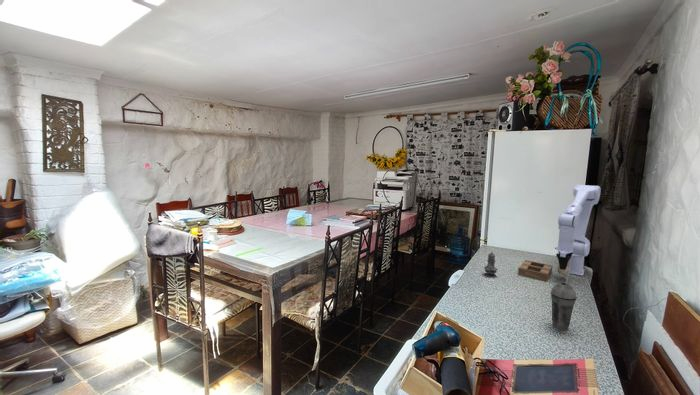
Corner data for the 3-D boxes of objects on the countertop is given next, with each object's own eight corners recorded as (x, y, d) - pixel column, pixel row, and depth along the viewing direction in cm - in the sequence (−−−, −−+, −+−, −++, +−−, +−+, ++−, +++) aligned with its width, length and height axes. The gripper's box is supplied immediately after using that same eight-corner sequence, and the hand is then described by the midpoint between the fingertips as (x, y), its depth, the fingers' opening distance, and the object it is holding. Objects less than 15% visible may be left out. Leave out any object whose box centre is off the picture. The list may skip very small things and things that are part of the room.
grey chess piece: (498, 278, 144) (500, 254, 143) (485, 277, 145) (486, 253, 144) (495, 273, 150) (496, 250, 148) (482, 272, 151) (483, 249, 149)
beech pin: (558, 270, 145) (559, 254, 144) (568, 272, 142) (570, 256, 141) (557, 273, 142) (558, 256, 141) (567, 275, 140) (569, 258, 138)
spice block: (525, 266, 159) (525, 260, 159) (552, 272, 152) (552, 265, 151) (517, 274, 148) (518, 268, 148) (546, 281, 140) (547, 274, 140)
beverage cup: (542, 321, 107) (547, 267, 104) (561, 320, 108) (567, 266, 105) (558, 333, 100) (564, 275, 97) (578, 332, 100) (585, 275, 98)
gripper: (558, 235, 148) (555, 261, 150) (553, 241, 137) (550, 270, 139) (576, 237, 143) (573, 265, 145) (572, 244, 133) (569, 274, 135)
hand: (563, 267), depth 142 cm, fingers closed on beech pin, 4 cm apart
